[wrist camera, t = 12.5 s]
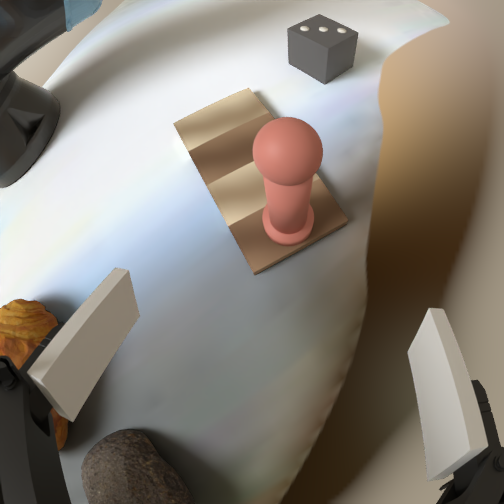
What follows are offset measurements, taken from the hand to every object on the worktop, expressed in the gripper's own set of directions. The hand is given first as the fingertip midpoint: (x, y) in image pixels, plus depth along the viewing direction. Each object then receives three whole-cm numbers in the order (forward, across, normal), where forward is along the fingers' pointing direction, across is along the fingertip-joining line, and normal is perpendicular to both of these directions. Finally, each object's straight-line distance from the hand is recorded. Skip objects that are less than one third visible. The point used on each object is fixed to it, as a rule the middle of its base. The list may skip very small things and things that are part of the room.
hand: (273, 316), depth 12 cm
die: (+25, +2, +12) cm, 28 cm away
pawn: (+11, 0, -1) cm, 11 cm away
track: (+15, -4, +2) cm, 16 cm away
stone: (-4, -8, -18) cm, 20 cm away
